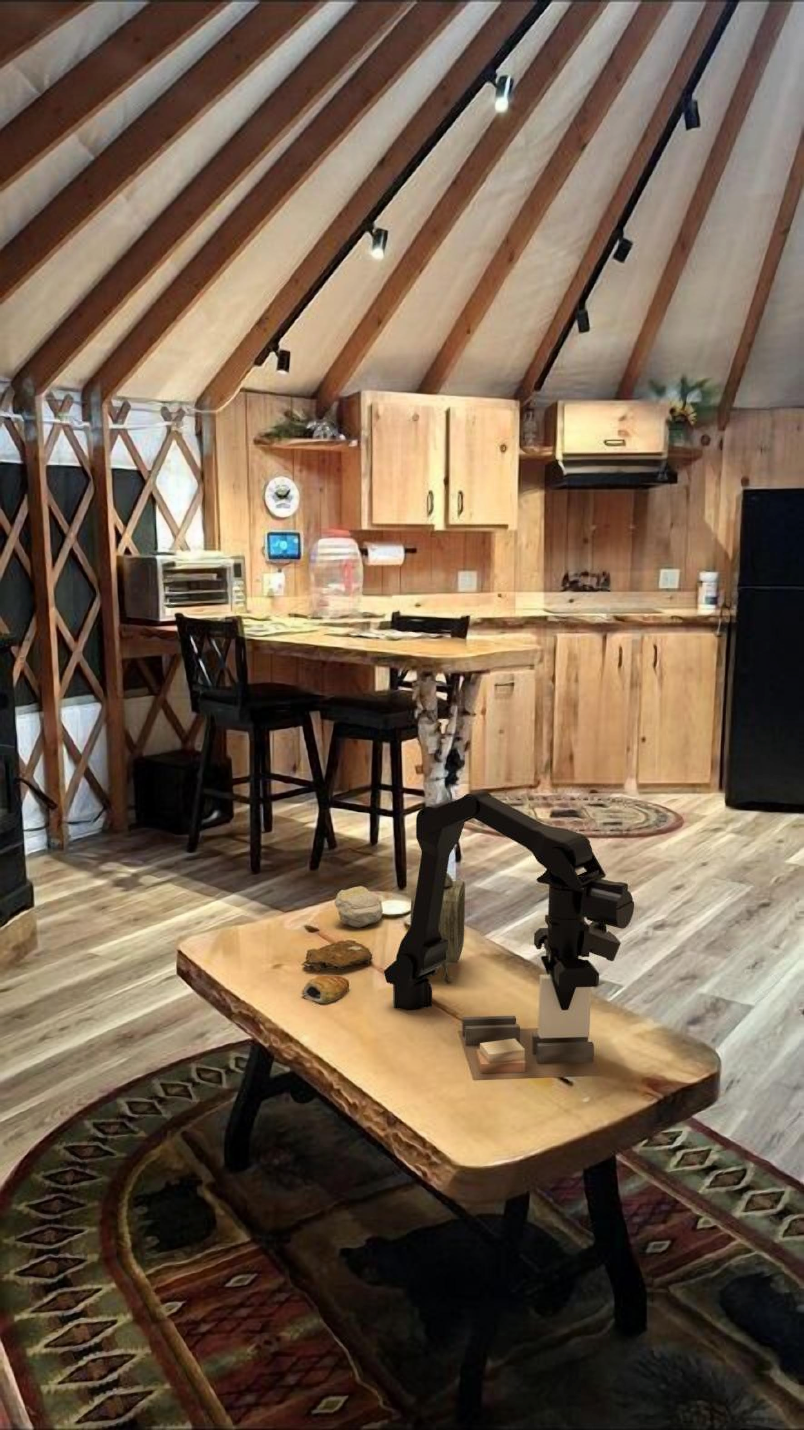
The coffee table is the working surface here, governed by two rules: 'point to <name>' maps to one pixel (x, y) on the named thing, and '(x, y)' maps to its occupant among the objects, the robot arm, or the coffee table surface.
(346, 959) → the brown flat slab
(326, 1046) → the coffee table surface
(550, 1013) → the off-white sheet
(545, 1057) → the walnut rack
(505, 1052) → the birch offcut
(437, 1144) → the coffee table surface
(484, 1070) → the cedar offcut
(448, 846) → the robot arm
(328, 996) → the pastry
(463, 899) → the tabletop clock
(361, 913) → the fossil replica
